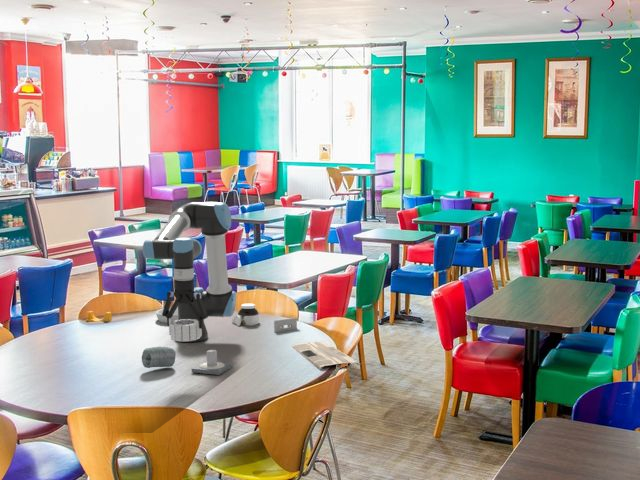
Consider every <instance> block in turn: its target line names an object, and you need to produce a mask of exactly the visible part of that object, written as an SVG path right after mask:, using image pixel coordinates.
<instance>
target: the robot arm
mask: <svg viewBox="0 0 640 480" xmlns="http://www.w3.org/2000/svg"><path fill="white" fill-rule="evenodd" d="M231 227H232V214H231V210H230V207H229V206H228V204H227V203H225V202H221V201H220V202H218V201H204V202H203V201H202V202H200V201H192V202H191V201H190V202H188V203H185V204H183V205H180V206H179V207H177V208H176V209H174V210H173V211H172V212H171V213H170V215H169V217H168V221H167V222H166V224H165V225H164V226H163V227H162V229H161V230H160V232H159V233H158V234H157V236H156V237H155V238H154V239H147V240H145V241H144V242H143V244H142V255H143V258H144V259H146V260H154V261H155V260H173V278H174V280H173V289H174V291H172V290H170V291H168V292H166V300H165V303H164V307H163V309H164V310H163V313H162V315H163V316H165V317H167V323H166V325H167V326H168V332H169V336H171V323H170V322H172V321H174V317H172V315H173V314H174V312H175V310H176V309H177V307H178V320H180V319H195V320H197V321H196V327H197V337H198V338H199V337H200V338H199V339H197V340H193V341H184V342H183V343H195V342H196V343H197V342H203V341H206V340H208V338H209V333H208V330H207V326H206V324H205V320H206V319H208V318H209V317H212V318H213V317H214V318H217V317H218V318H226V317H227V318H230V317H231V316H233V315H234V313H235V310H236V305H237V292H236V291H234V290H233V287H232V285H231V284H229V276H228V263H227V261H228V260H227V249H226V247H227V245H226V234H228V232H229V229H231ZM189 229H190V230H191V229H195V230H196V229H197V230H198V229H199V230H200V231H201V235H203V236H204V239H205V248H206V249H205V250H206V261H207V263H206V265H207V274H208V286H207V288H206V290H204V288H203V287H195V280H194V278H195V270H194V269H195V268H194V266H195V265H194V262H195V261H194V259H197V258H198V257H199V256H200V255H201V253H202V251H203V247H202V243H201V242H200V241H199V240H197V239H194V238H190V237H181V235H182V234H183V233H184V232H186V231H187V230H189ZM174 297H175V299H174ZM173 299H174V301H173ZM172 302H173V304H172ZM170 308H171V309H170ZM169 309H170V311H169ZM179 342H181V341H179ZM181 343H182V342H181Z"/></svg>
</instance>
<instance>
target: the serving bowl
mask: <svg viewBox="0 0 640 480" xmlns="http://www.w3.org/2000/svg"><path fill="white" fill-rule="evenodd" d="M170 309H171V307H170ZM170 309H169V311H170ZM163 310H164V308H162V309H159V310H157V311H155V314H156V318H157V320H158V321H159V322H160V323H163V324H167V317H165V316H163V315H162V313H163ZM172 317H174V321H175V320H178V307H177V309H176V310H175V312H174V314H173V315H172Z"/></svg>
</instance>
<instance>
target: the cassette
mask: <svg viewBox="0 0 640 480" xmlns="http://www.w3.org/2000/svg"><path fill="white" fill-rule="evenodd" d="M297 319H298V318H297V317H291V318H290V317H289V318H282V319H274V322H273V325H274V326H273V328H274V329H273V332H274V333H280V332H284V331H285V332H286V331H293V330H296V329H298V326H297V325H298V323H297V322H298V321H297Z"/></svg>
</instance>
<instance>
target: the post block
mask: <svg viewBox="0 0 640 480" xmlns="http://www.w3.org/2000/svg"><path fill="white" fill-rule="evenodd" d="M231 368H233V363H232V362H221V361H218V350H216V349H210V350H209V349H208V350H206V360H205V361H202V362H201V363H199V364H197V365H195V366H193V367H191V373H197V374H204V375H205V374H206V375H217V376H220V375H222V374H223V373H224V372H227V371H228V370H229V369H231Z"/></svg>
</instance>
